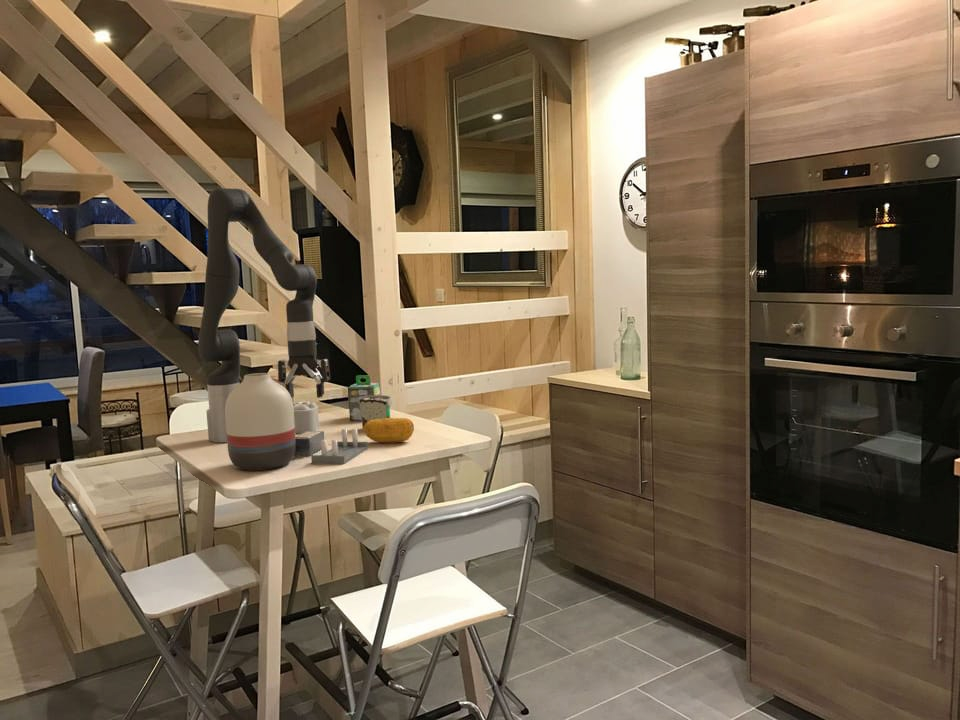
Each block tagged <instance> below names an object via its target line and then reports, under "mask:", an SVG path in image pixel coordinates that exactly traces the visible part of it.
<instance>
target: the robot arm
mask: <svg viewBox="0 0 960 720" xmlns="http://www.w3.org/2000/svg"><path fill="white" fill-rule="evenodd" d="M233 222H234V223H235V222H239V223H240V222H241V223H242V224H243V225H245V226H246V227H247V228H248V229H249V230H250V232H251V234H252V241H253V242H252V243H253V246H254V248H255V249H254V250H255V251H256V252H257V254H258V255H259V256H260V257H261V259H262V260H263V261H264V262H265V264H267V265H268V266H269V268H270V270H271V272H272V274H273V276H274V278H275V280H276V283H277V284H278V285H279V286H280V287H281V288H282V289H283V290H285V291H288V292H295V297H294V298H293V299H291V300H289V301H288V302H287V303H286V305H285V307H286V309H285V311H286V312H285V313H286V339H287V353H288V354H287V355H288V360H287V359H281V360H278V361H277V381H278V382H279V383H283V384H284V385H285V389H286V390H287V391H288V392H289V394H290V396H291V398H292V399H293V398H294V397H295V392H294V390H295V389H294V380H295V379H296V377H300V376H306V377H309V376H310V377H311V378H312V379H313V380H314V381H315V382H316V385H315V386H316V387H315V388H316V398H317V399H320V398H323V396H324V395H325V383H326V382H329V381H331V372H330V365H329V359H328V358H324V359H318V357H317V340H316V339H317V333H316V327H315V322H314V309H313V305H314V301H315V296H316V290H317V286H318V285H317V283H318V278H317V274H316V272H315V271H316V270H315V269H314V268H313V266H311V265H309V264H307V263H305V264H303V263H302V264H292V261H293V258H294V256H293V253H292V251H291V250H290V249H289V247H288V246H287V245H286V244H285V243H284V242H283V241H282V240H281V239H280V237H278V235H277V234H276V233H275V232H274V231H273V229H272V228H271V227H270V225H269V223H268V222H267V221H266V218H265V217H264V215H263V214H262V212H261V210H260V209H259V207H258V206H257V204H256V203H255V201H254V200H253V198H252V197H251V195H249V193H248V192H247V191H245V190H244V189H241V188H227V187H225V188H224V187H223V188H222V187H221V188H219V187H218V188H214V189H213V190H212V191H211V192H210V193H209V196H208V200H207V254H206V256H207V258H206V266H205V281H204V284H205V285H204V297H203V299H204V300H203V301H204V302H203V309H202V310H203V311H202V317H201V321H200V322H201V323H200V329H199V334H198V335H199V336H198V341H197V343H198V345H197V348H198V349H197V350H198V354H199V357H200V359H201V360H202V362H205V363H213V362H214V363H215V362H221V365H220V366H219V367H218V368H216V370H214V371H212V372H211V373H208V375H207V377H206V384H207V398H208V409H206V421H207V422H206V423H207V424H206V425H207V435H208V442H212V441H213V442H212V443H227V433H226V420H225V404H226V400H227V397H228V395H229V394H230V393H231V392H232V390H234V389H235V388H236V387H237V386H238V385H239V384H241V383H240V375H241V350H240V349H241V347H240V346H241V345H240V339H239V337H238V334H237V333H236V331H234V330H232V329H219V325H220V322H221V319H222V317H223V314H224V313H225V311H226V310H227V308H228V307H229V306H230V305H231V303H232V301H233V300H234V298H235V297H236V295H237V293H238V290H239V283H240V272H241V271H240V265H239V262H238V261H239V260H238V259H237V257H236V255H235V254H234V253H235V252H234V251H233V250H232V249H233V248H232V247H231V245H230V241H229V223H233ZM318 366H319V368H320V369H321V370H320V371H321V373H320V371H319V370H318V369H317V367H318ZM288 367H289V368H290V371H289V373H288V374H287V368H288Z"/></svg>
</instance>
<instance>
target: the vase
mask: <svg viewBox="0 0 960 720" xmlns="http://www.w3.org/2000/svg"><path fill="white" fill-rule="evenodd" d="M271 376H272V375H271V374H270V373H269V372H260V373H259V372H258V373H248V374H245V375H244V376H243V380H242V381H241V383H240V384H239V385H238V386H237V387H236V388H235V389H234V390H232V392H231V393H230V394H229V395H228V397H227V400H226V404H225V420H226V433H227V442H226V443H227V451H228V452H227V453H228V456H229V460H230V462H231V464H232V465H233V466H234V467H236V468H237V469H239V470H243V471H267V470H274V469H277V468H280V467H283V466H285V465H287V464H288V463H290V462H292V460H293V459H294V457H295V456H294V453H295V447H296V442H295V437H296V434H295V424H294V409H293V405H294V402H293V397H292V398H291V396H290V394H289V392H288V391H287V390H286V387H285V386H283V385H281V384H280V383H278V382H277V381H276V380H274V379H272V377H271Z"/></svg>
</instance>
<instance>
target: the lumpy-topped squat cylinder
mask: <svg viewBox="0 0 960 720" xmlns="http://www.w3.org/2000/svg"><path fill="white" fill-rule="evenodd" d="M293 409H294V424H295V433H304V432H306V431H316V430H317V431H319V429H320V420H319V419H320V418H319V417H320V416H319V414H320V413H319V406H318V405H317V403H316V402H311V401H308V400H306V401H305V402H304V403H303V402H302V401H297V402H296V403H295V404H293Z"/></svg>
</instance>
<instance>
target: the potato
mask: <svg viewBox="0 0 960 720" xmlns="http://www.w3.org/2000/svg"><path fill="white" fill-rule="evenodd" d="M414 426H415V425H414V423H413V421H412V420H411V419H410V418H404V417H398V418H397V417H396V418H395V417H390V418H384V419H373V420H370V421H368V422H367V423H365V425H364V429H363V432H364V434H365V436H366V437H367V438H369V439H370V440H372V441H373V442H378V443H380V444H394V443H395V444H396V443H401V442H402V443H404V442H405V441H408V440H409V439H410V438H411V437H412V436H413V434H414V433H413V432H414V430H415V427H414Z"/></svg>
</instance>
